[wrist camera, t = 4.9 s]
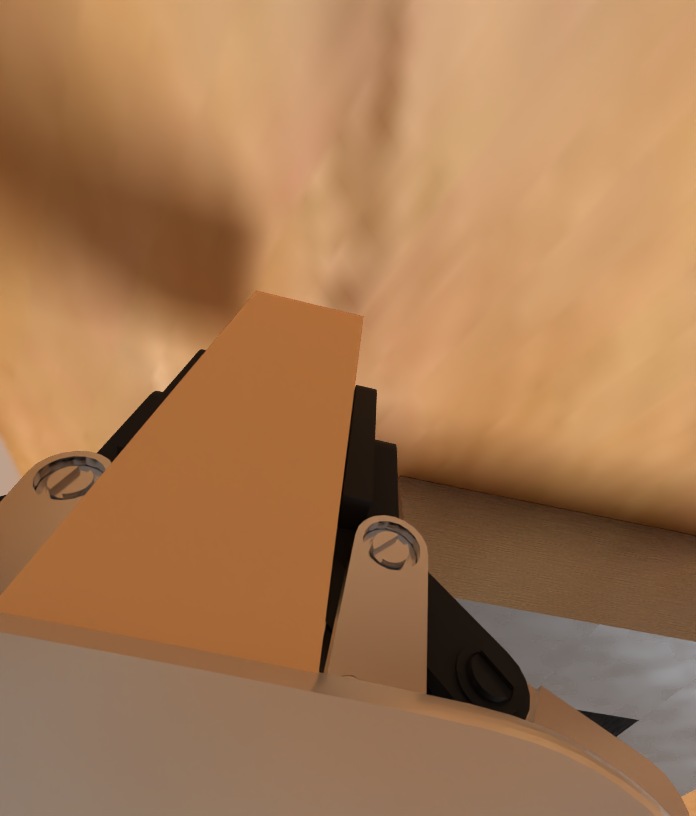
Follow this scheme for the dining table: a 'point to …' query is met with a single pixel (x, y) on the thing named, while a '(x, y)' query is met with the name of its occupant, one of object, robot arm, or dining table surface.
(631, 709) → the collar
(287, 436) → the tall tan wooden block
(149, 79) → the dining table surface
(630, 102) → the dining table surface
